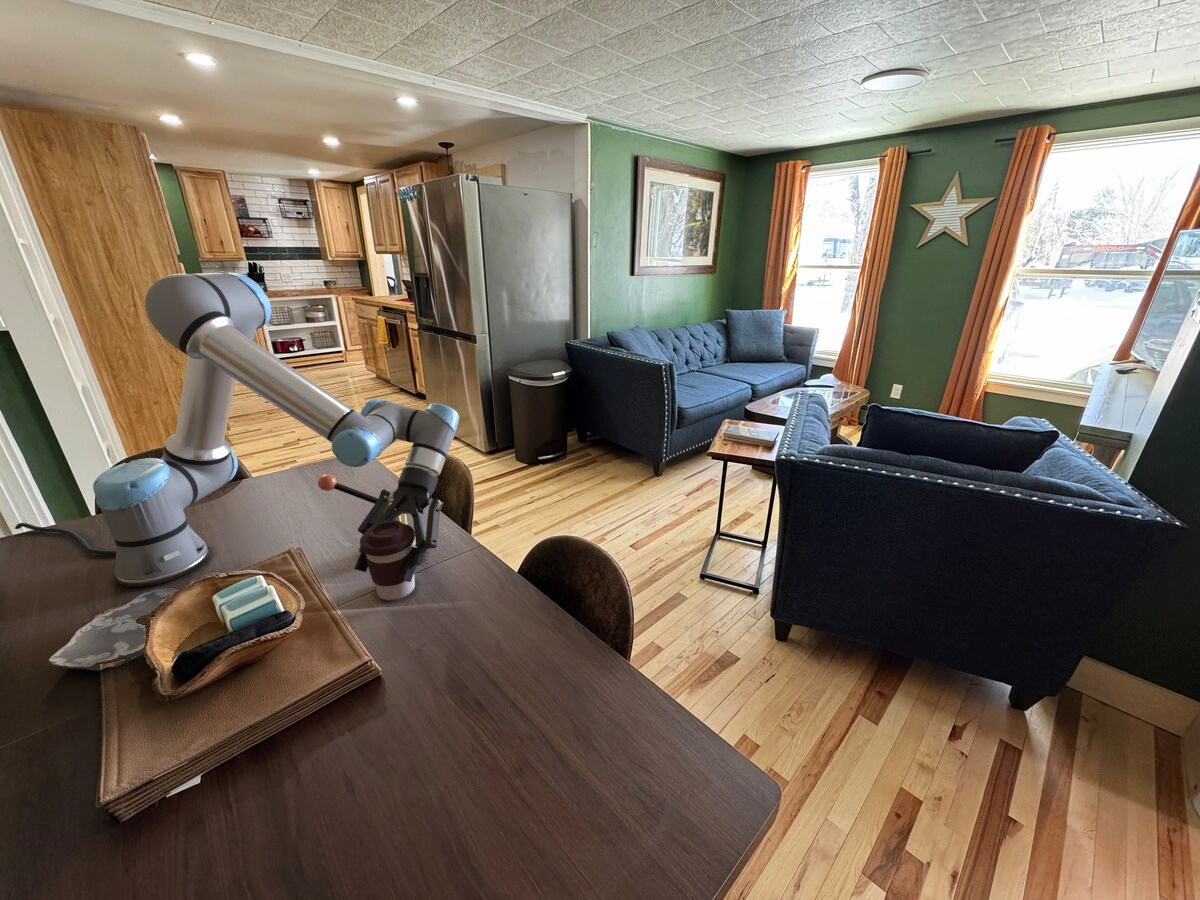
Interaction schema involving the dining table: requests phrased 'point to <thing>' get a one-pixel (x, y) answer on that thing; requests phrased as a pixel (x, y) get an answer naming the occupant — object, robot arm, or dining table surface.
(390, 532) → the coffee cup
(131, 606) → the grey stone slab
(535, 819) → the dining table surface
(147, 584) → the robot arm
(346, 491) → the lever
